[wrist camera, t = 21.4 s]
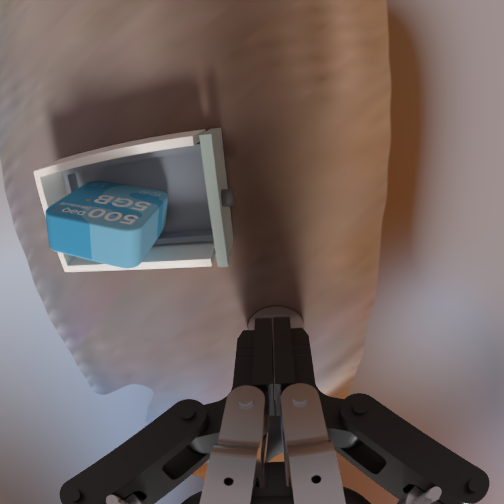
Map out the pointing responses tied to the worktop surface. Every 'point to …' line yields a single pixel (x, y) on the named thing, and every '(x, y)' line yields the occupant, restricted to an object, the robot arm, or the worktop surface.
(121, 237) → the data package
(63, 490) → the robot arm
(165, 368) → the worktop surface
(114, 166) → the drawer
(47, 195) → the cubby
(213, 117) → the worktop surface
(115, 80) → the worktop surface
